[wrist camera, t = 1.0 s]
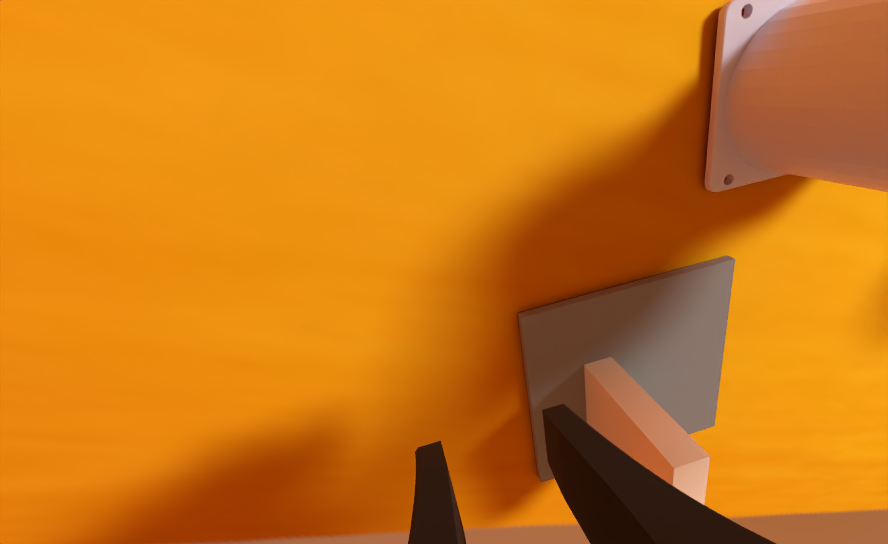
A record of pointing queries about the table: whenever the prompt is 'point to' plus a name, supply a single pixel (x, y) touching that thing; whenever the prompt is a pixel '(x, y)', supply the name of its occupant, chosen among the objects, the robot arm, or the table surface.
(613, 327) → the mat
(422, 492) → the robot arm
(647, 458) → the block
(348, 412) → the table surface
